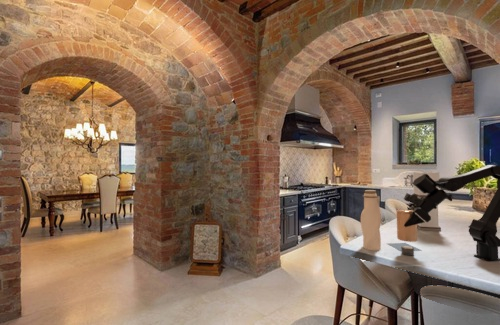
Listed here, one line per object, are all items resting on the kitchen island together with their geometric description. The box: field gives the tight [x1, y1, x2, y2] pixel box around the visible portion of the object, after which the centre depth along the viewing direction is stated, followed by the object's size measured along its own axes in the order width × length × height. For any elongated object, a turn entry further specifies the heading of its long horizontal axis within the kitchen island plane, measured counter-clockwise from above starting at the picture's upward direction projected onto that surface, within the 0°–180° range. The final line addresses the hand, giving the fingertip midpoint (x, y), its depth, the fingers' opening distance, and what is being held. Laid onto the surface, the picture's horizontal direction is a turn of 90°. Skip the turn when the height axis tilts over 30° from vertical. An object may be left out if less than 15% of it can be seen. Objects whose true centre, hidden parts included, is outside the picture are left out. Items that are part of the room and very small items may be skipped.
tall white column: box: [412, 171, 442, 232], centre depth 161 cm, size 11×11×35 cm
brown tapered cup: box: [396, 209, 419, 243], centre depth 116 cm, size 8×8×13 cm
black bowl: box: [400, 246, 415, 256], centre depth 115 cm, size 5×5×3 cm
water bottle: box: [360, 189, 382, 251], centre depth 126 cm, size 10×9×28 cm
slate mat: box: [387, 242, 423, 252], centre depth 125 cm, size 12×10×1 cm
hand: (403, 224), depth 116 cm, fingers closed on brown tapered cup, 8 cm apart
